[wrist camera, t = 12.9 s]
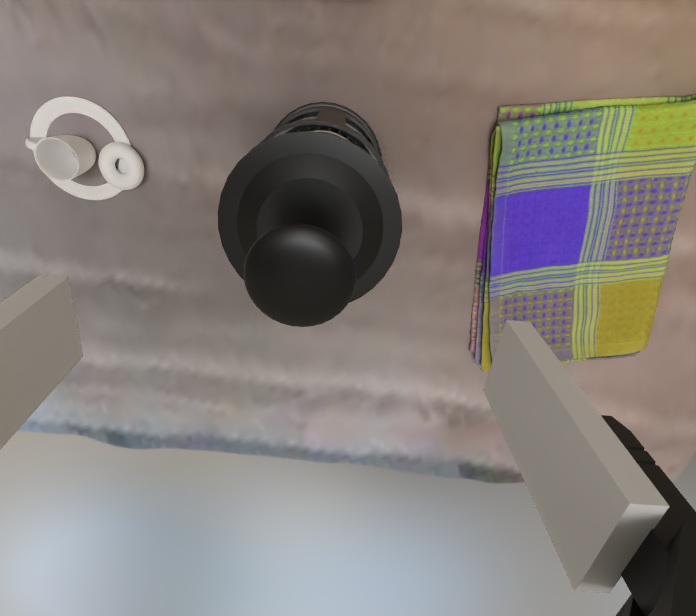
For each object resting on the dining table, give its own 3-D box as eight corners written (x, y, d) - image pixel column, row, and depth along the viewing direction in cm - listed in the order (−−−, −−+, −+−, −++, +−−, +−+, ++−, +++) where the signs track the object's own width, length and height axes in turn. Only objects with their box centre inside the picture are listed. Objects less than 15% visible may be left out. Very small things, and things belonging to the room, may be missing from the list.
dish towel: (711, 91, 35) (739, 92, 32) (634, 351, 46) (651, 367, 44) (486, 105, 35) (497, 108, 33) (465, 360, 47) (472, 376, 44)
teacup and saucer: (163, 159, 37) (143, 169, 33) (109, 224, 39) (85, 239, 36) (67, 71, 34) (34, 72, 30) (15, 147, 36) (-22, 156, 33)
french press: (275, 80, 34) (171, 94, 13) (396, 107, 35) (469, 161, 14) (258, 227, 39) (165, 397, 19) (362, 247, 40) (381, 430, 20)
